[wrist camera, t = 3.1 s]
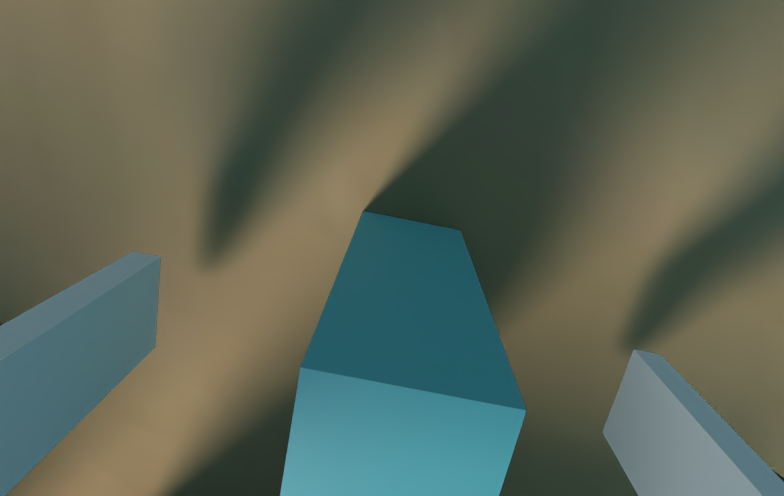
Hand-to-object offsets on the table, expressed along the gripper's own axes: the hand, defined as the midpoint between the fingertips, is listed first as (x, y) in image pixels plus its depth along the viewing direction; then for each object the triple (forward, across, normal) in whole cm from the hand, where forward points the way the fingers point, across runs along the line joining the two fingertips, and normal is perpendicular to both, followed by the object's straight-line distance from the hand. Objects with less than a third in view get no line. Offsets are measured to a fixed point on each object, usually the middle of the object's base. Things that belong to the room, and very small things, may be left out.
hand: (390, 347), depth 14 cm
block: (+2, 0, 0) cm, 2 cm away
